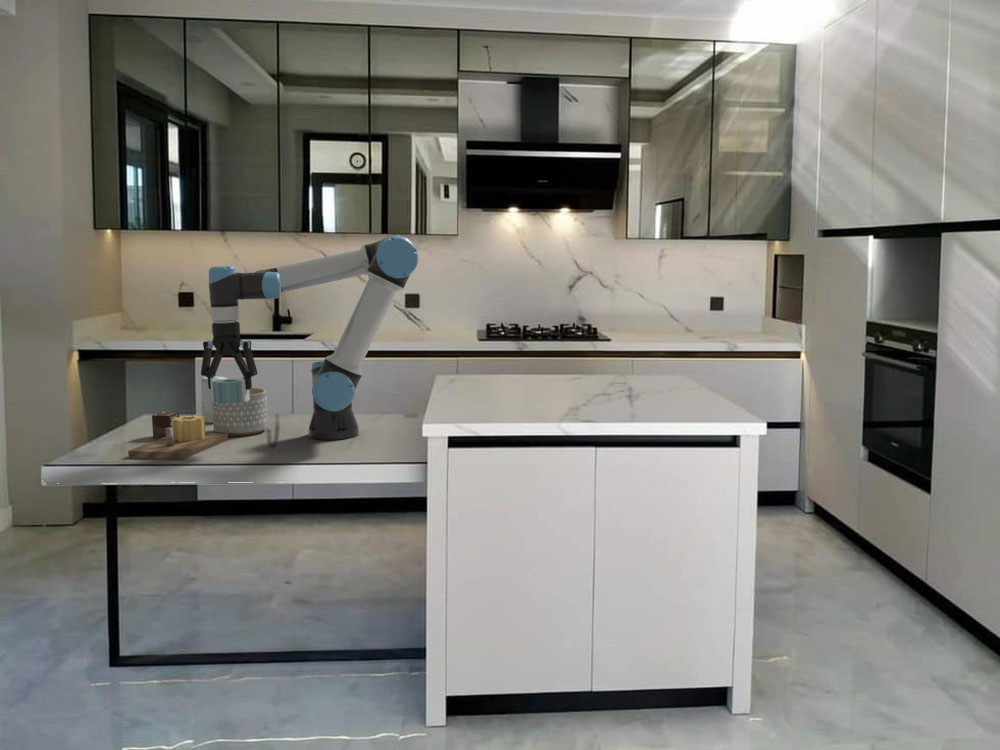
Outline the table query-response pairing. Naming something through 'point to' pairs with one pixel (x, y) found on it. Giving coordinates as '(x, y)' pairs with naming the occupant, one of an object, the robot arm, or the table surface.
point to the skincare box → (207, 399)
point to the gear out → (188, 428)
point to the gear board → (176, 446)
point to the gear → (227, 391)
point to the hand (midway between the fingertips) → (230, 400)
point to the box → (162, 423)
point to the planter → (242, 415)
